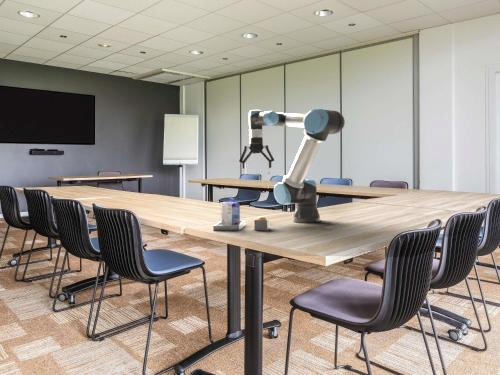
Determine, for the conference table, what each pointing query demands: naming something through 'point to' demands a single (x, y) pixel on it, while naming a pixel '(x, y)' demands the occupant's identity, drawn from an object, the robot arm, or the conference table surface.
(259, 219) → the plunger
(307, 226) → the conference table surface
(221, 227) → the tray
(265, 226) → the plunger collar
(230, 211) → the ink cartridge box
